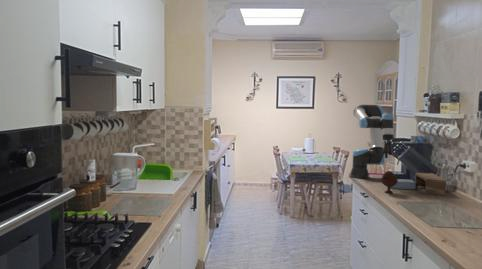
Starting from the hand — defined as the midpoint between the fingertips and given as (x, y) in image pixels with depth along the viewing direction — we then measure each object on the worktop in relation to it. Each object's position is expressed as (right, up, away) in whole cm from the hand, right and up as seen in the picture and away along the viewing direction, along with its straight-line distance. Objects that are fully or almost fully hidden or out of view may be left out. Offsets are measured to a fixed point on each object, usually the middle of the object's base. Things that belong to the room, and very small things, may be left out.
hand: (388, 163), depth 275 cm
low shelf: (+23, -18, -12) cm, 32 cm away
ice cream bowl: (-8, -19, -21) cm, 29 cm away
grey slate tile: (+8, -17, -3) cm, 19 cm away
